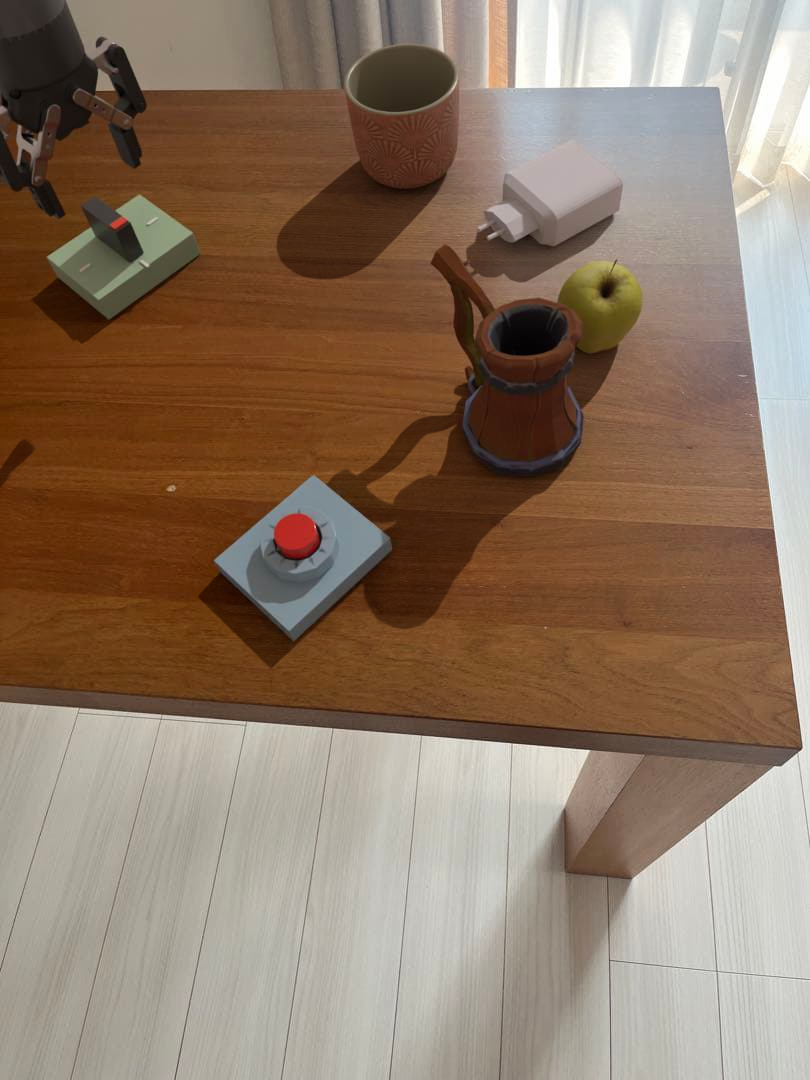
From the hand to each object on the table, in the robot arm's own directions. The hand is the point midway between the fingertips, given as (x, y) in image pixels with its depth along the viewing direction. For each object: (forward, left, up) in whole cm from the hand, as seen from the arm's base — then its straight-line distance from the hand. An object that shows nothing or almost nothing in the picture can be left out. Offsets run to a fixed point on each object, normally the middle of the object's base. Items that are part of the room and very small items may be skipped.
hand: (95, 188), depth 80 cm
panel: (+3, +10, -17) cm, 20 cm away
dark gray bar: (+3, +10, -14) cm, 17 cm away
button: (-9, -33, -14) cm, 37 cm away
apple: (+28, -36, -18) cm, 49 cm away
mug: (+15, -35, -18) cm, 42 cm away
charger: (+37, -21, -18) cm, 47 cm away
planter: (+35, -3, -18) cm, 40 cm away
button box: (-9, -33, -17) cm, 39 cm away
